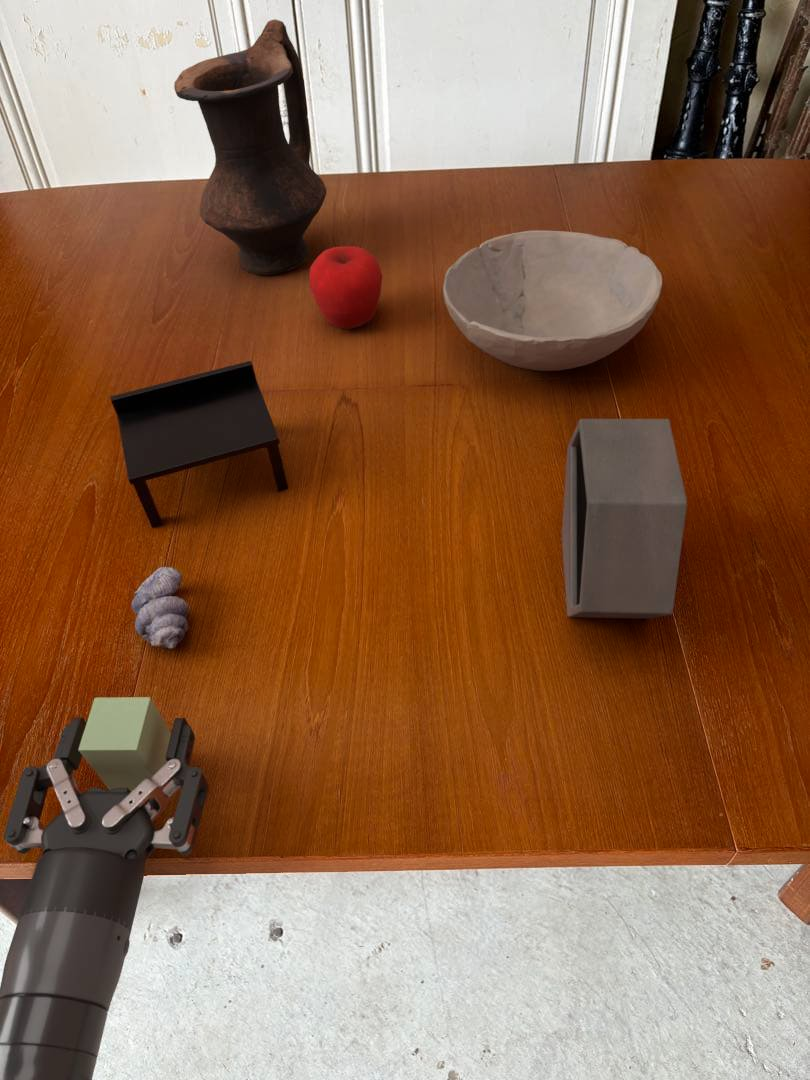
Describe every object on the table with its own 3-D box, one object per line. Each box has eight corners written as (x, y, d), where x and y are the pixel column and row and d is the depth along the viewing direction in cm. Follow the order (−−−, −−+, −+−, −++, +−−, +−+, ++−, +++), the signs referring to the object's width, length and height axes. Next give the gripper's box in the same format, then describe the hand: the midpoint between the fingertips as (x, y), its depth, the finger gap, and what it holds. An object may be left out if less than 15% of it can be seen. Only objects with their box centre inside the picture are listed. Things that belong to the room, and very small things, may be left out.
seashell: (156, 594, 85) (179, 669, 79) (112, 581, 81) (133, 659, 75) (187, 561, 83) (213, 635, 77) (144, 546, 79) (168, 623, 73)
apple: (337, 351, 109) (327, 278, 101) (303, 319, 115) (291, 247, 107) (399, 324, 112) (393, 252, 104) (363, 294, 118) (355, 223, 110)
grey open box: (561, 459, 86) (587, 399, 66) (636, 459, 85) (685, 398, 65) (561, 619, 84) (588, 609, 63) (637, 621, 83) (689, 611, 63)
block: (116, 799, 69) (77, 750, 62) (129, 749, 72) (94, 697, 65) (169, 799, 69) (136, 749, 62) (180, 749, 72) (150, 696, 65)
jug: (285, 304, 117) (242, 79, 95) (190, 274, 125) (128, 58, 102) (365, 237, 129) (344, 22, 106) (274, 213, 136) (235, 7, 113)
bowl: (410, 327, 112) (405, 261, 104) (570, 271, 119) (577, 205, 111) (513, 437, 96) (516, 367, 88) (691, 364, 103) (708, 294, 95)
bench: (150, 530, 89) (122, 465, 82) (137, 461, 97) (110, 396, 90) (290, 489, 92) (275, 423, 85) (267, 425, 100) (251, 360, 93)
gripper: (158, 917, 53) (206, 698, 64) (-52, 914, 54) (30, 699, 65) (188, 949, 59) (227, 743, 69) (-2, 946, 60) (65, 743, 70)
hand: (132, 722), depth 67 cm, fingers open, 8 cm apart
